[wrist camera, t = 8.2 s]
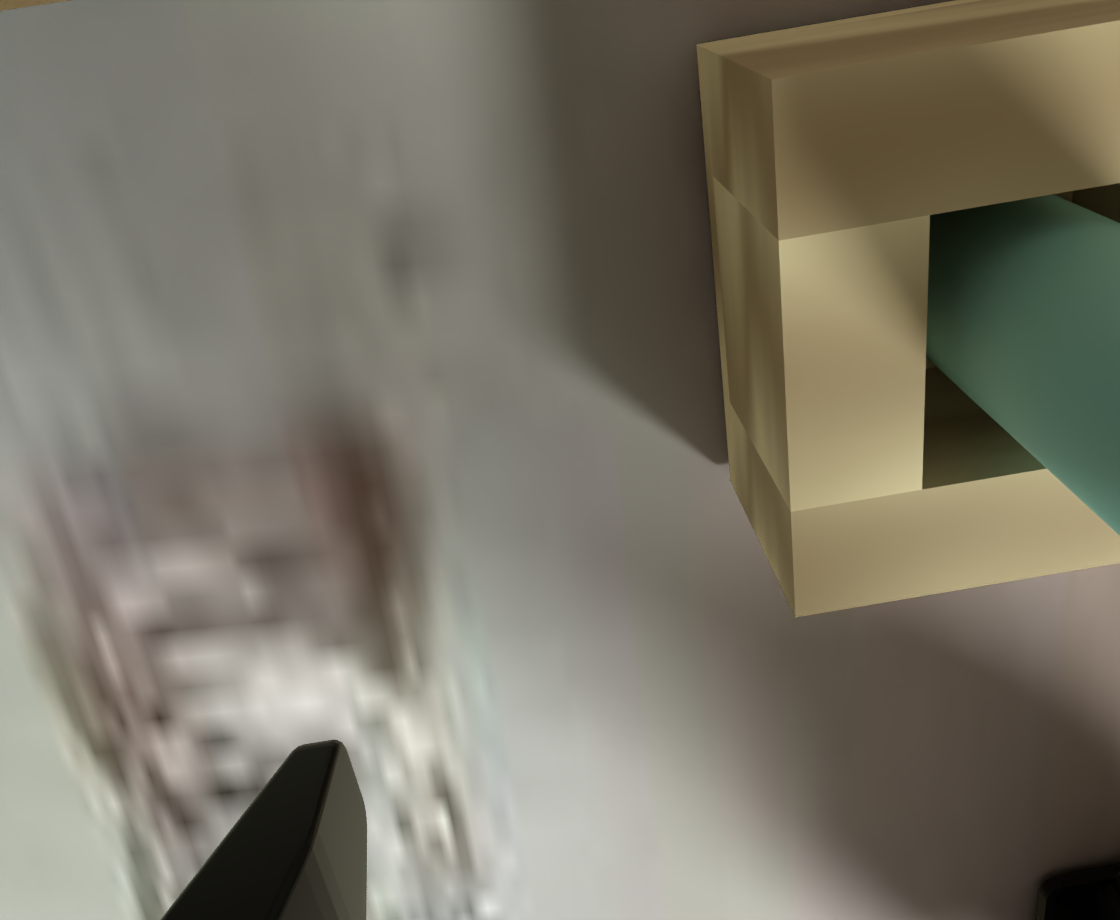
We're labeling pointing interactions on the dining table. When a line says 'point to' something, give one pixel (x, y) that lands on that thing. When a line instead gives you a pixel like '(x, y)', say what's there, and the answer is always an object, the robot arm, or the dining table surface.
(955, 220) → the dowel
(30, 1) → the wooden block
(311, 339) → the dining table surface
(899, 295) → the block
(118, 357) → the dining table surface
